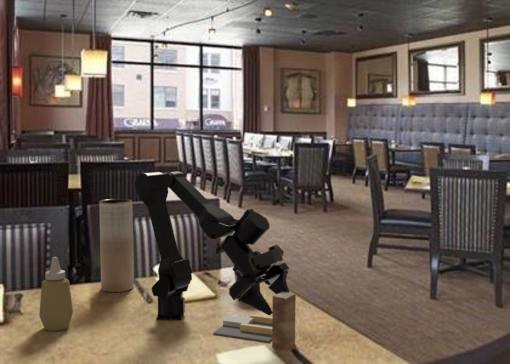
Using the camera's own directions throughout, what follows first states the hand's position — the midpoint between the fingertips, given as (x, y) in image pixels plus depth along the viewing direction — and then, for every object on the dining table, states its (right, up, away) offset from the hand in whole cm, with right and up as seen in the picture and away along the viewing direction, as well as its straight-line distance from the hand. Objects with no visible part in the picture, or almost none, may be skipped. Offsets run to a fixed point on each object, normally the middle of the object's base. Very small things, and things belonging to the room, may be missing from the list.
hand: (281, 308), depth 129 cm
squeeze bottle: (-56, -7, +11) cm, 58 cm away
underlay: (-7, -8, +10) cm, 15 cm away
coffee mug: (-8, -5, +42) cm, 43 cm away
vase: (-49, -4, +46) cm, 68 cm away
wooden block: (+1, -9, 0) cm, 9 cm away
